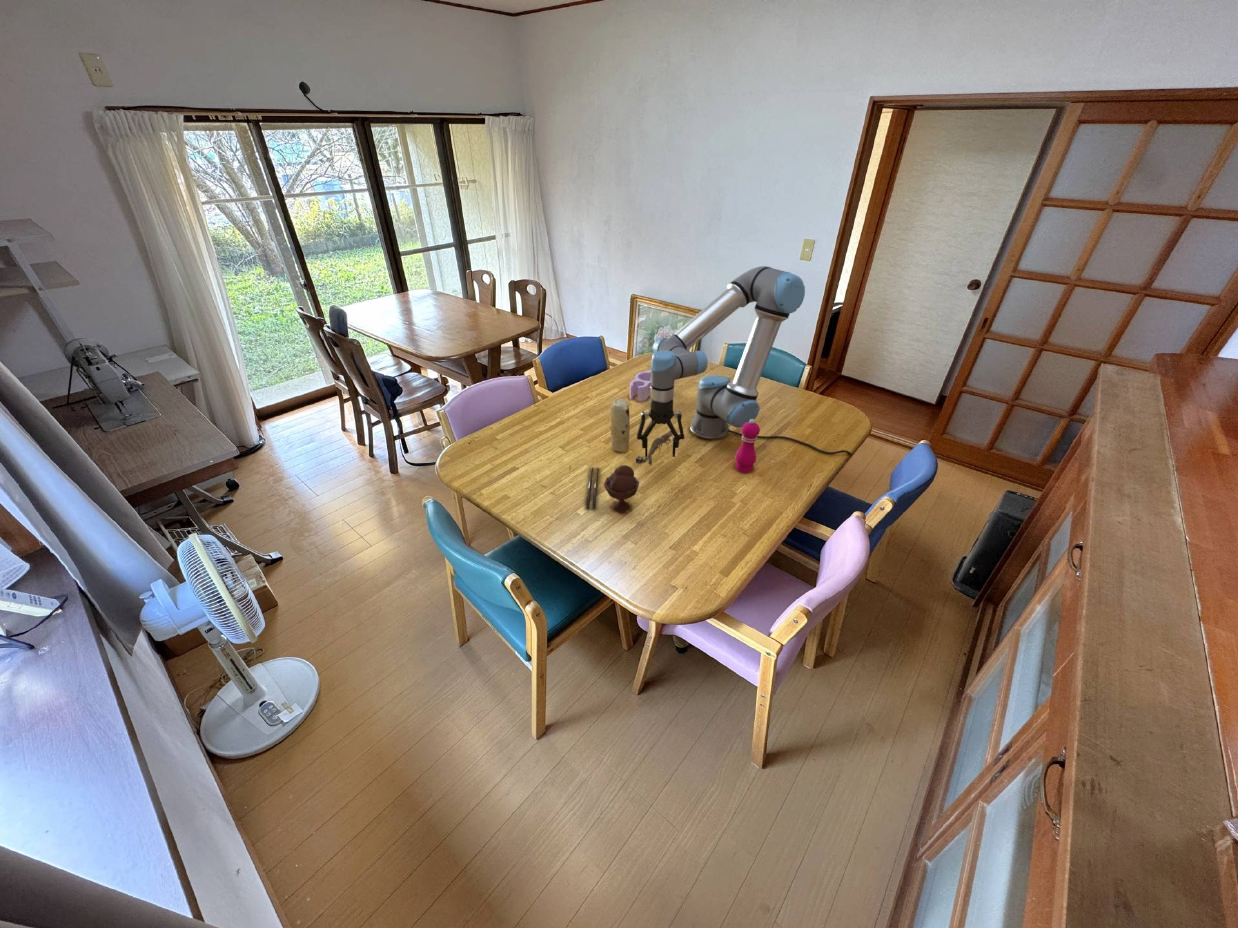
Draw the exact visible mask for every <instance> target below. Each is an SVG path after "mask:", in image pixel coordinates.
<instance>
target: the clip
mask: <svg viewBox="0 0 1238 928" xmlns="http://www.w3.org/2000/svg"><path fill="white" fill-rule="evenodd" d="M634 396H637V402H645V401H646V400H648V398H649V397H651V369H647V371H641V372H637V373H636V374H635V376H634V379H633V380H631V381H630V382H629V400H632V401H633V400H634Z"/></svg>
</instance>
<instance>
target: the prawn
mask: <svg viewBox="0 0 1238 928" xmlns="http://www.w3.org/2000/svg"><path fill="white" fill-rule="evenodd" d="M676 432H677V433H678V431H677V430H676ZM673 437H674V436H673V434H672V432H671V430H668V431H667V432H666V433H664V434H662V435H661V436H659V437H655V438H654V440H653V442H652V444H651V445H650V449H649V452H648V453H647V456H646V457H645V456H644V457H643V456H640V455H638V456H637V457H635V464H638V465H641V464H643V463H647V462H648V465H650V466H652V464H653V457H652V456H653V455H654V454H655V452H656V451H657V450H658V452H661V450H662V447H663V444H665V445H666V446H668V445H669V444H670V443H672V440H671V438H672V439H673ZM652 438H653V437H652ZM652 438H650V440H651V439H652ZM671 447H673V444H671ZM666 449H667V450H668V449H669V447H666ZM658 455H659V456H660V453H658Z"/></svg>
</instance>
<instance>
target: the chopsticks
mask: <svg viewBox="0 0 1238 928" xmlns="http://www.w3.org/2000/svg"><path fill="white" fill-rule="evenodd" d="M593 474H594V468H593V467H590V471H589V480H588V488H587V494H586V495H587V496H586V504H585V509H587V510H589V509H590V502H591V501H590V500H591V491H592V483H593ZM598 480H599V467H596V468H595V476H594V486H593V497H592V507H591V508H592V510H595V509H596V503H597V491H598V483H599V482H598Z"/></svg>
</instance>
